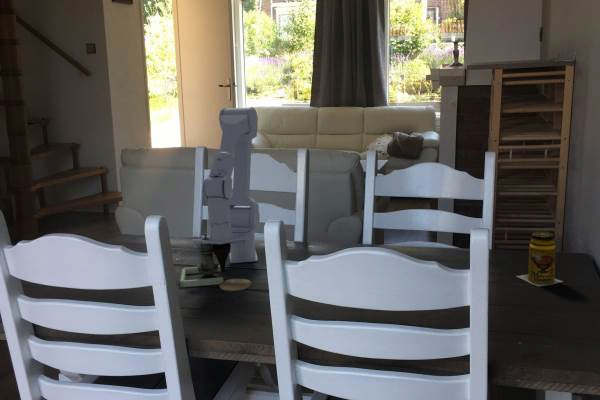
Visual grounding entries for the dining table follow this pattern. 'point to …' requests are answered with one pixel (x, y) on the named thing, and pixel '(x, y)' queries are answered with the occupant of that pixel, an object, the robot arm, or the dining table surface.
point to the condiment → (541, 260)
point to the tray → (198, 281)
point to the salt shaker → (207, 262)
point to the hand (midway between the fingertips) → (223, 271)
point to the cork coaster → (235, 284)
